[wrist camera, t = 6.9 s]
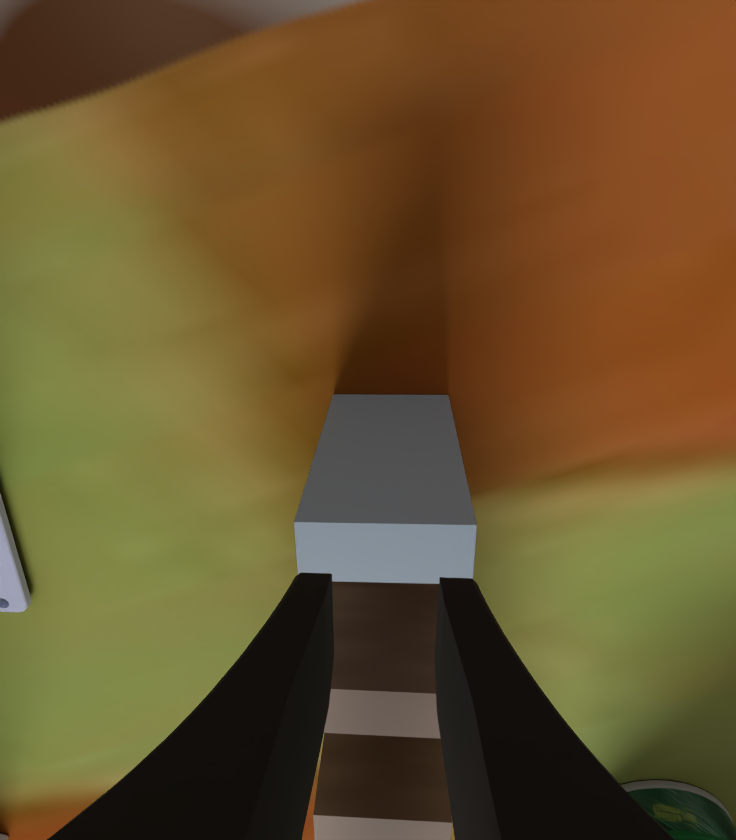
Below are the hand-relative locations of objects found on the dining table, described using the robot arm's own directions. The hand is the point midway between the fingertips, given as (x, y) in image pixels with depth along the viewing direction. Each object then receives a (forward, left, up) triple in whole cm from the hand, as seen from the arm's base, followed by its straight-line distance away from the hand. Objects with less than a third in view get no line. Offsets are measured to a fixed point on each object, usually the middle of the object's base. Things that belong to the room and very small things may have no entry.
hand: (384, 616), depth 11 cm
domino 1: (0, 0, -10) cm, 10 cm away
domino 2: (0, -5, -10) cm, 11 cm away
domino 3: (0, -10, -10) cm, 14 cm away
